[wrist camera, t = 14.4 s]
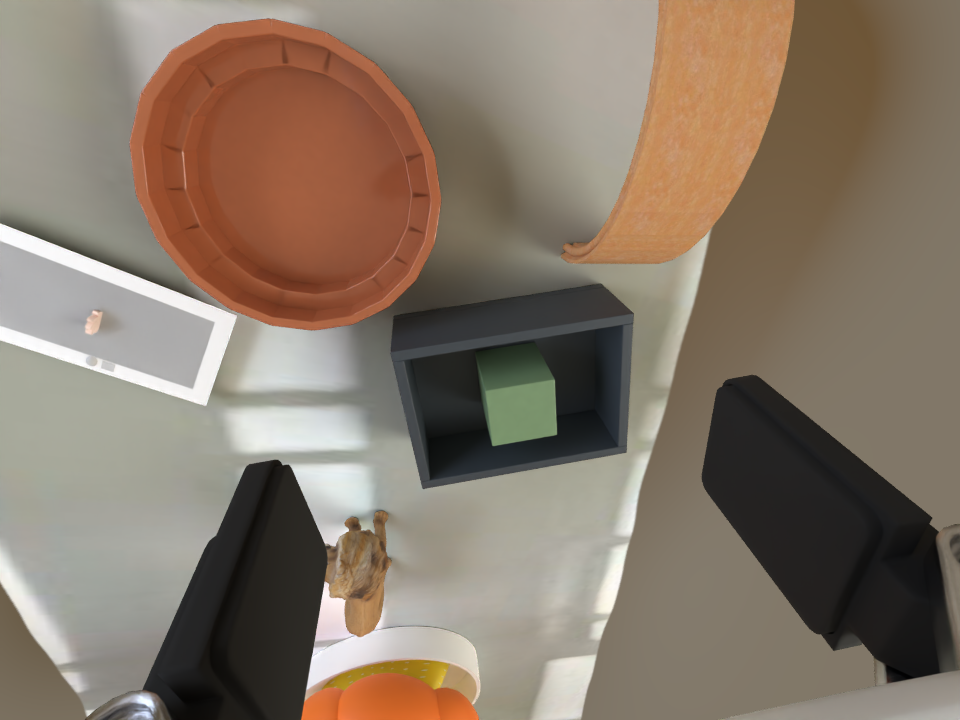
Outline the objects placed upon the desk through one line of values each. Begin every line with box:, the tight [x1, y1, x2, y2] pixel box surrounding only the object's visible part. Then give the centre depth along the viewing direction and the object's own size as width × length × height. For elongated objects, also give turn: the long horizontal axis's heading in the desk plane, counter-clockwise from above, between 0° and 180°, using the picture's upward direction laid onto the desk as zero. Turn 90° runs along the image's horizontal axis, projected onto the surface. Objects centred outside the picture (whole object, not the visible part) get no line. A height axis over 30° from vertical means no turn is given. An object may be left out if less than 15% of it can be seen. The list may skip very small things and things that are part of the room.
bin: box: [391, 284, 634, 489], centre depth 34 cm, size 11×15×6 cm
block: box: [475, 342, 557, 446], centre depth 34 cm, size 5×5×6 cm
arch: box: [561, 0, 795, 264], centre depth 24 cm, size 6×20×10 cm, turn 177°
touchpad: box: [0, 223, 237, 406], centre depth 30 cm, size 8×15×2 cm, turn 61°
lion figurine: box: [325, 511, 392, 637], centre depth 40 cm, size 15×5×9 cm, turn 4°
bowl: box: [130, 18, 441, 330], centre depth 27 cm, size 16×16×4 cm
